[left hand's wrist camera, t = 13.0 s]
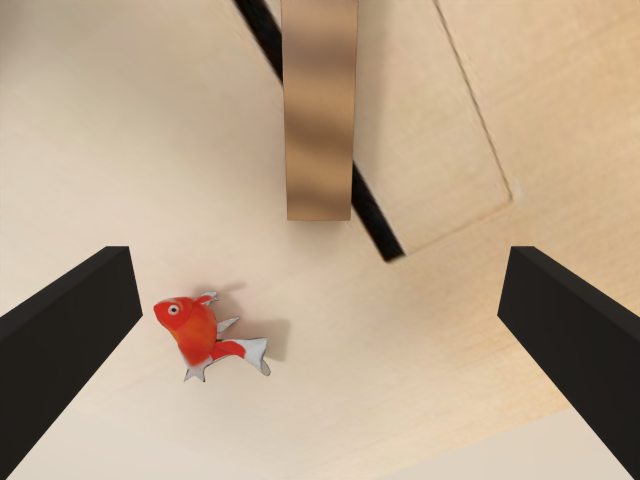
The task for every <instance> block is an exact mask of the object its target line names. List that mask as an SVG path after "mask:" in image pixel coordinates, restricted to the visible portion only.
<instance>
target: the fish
mask: <svg viewBox="0 0 640 480" xmlns="http://www.w3.org/2000/svg"><path fill="white" fill-rule="evenodd" d="M216 295H217V293H216V292H206V293H203V294H202V295H201V296H200V297H199V298H197V299H196V298H192V297H177V298H170V299H165V300H162V301H160V302H159V303H157V304H156V305H155V306H154V308H153V309H154V312H155V314H156V317H157V319H158V321H159V322H160V323H161V324H162V325H163V326H164V327H165V328H166V329H168V330H169V331H170V333H171V334H172V335H173V337H174V338H175V340H176V341H177V343H178V347H179V350H180V352H181V355H182V357H183V359H184V361H185V363H186V365H187V367H188V371H187V373H186V376H185V379H184V382H185V381H186V380H188V379H189V378H191V377H192V376H193V375H195V376H197V377H198V378H199V379H200V380H202V381H203V382H205V377H204V369H205V368H206V367H207V366H209V365H211V364H213V363H215V362H216V361H218V360H220V359H222V358H225V357H227V356H230V355H238V356H240V357H241V358H243V359H245V360H246V361H248V362H250V363H251V364H252V365H254V366H255V367H256V368H257V369H258V370H259V371H260V372H262V373H263V374H264V375H266V376H269V375H270V373H271V372H270V369H269V367H268V365H267V364H266V362H265V361H264V360H263V356H264V353H265V350H266V344H267V338H255V339H248V340H217V333H221V332H223V331H224V330H226V329H227V328H228V327H229V326H230V325H232V324H233V323H234V322H235V321H237V320H238V319H239V317H237V318H233V319H228V320H225V321H223V322H220V323H217V322H216V318H215V316H214V314H213V311H212V310H211V308H210V307H209V306H208V305H210V303H211V301H213V300H219V299H217V298H215V296H216ZM184 382H183V383H184Z"/></svg>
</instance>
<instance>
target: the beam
mask: <svg viewBox="0 0 640 480" xmlns="http://www.w3.org/2000/svg"><path fill="white" fill-rule="evenodd" d="M281 17H282V52H283V86H284V120H285V155H286V189H287V220H329V221H350V215H351V188H352V160H353V133H354V106H355V78H356V51H357V24H358V0H281Z"/></svg>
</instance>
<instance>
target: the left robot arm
mask: <svg viewBox="0 0 640 480" xmlns="http://www.w3.org/2000/svg"><path fill="white" fill-rule="evenodd" d="M142 316H143V314H142V309H141V304H140V299H139V294H138V289H137V284H136V280H135V275H134V270H133V265H132V260H131V255H130V250H129V246H106V247H105V248H103V249H102V250H100V251H99V252H97V253H96V254H94V255H93V256H91V257H90V258H88V259H87V260H85V261H84V262H82V263H81V264H79V265H78V266H76V267H75V268H73V269H72V270H70V271H69V272H67V273H66V274H64V275H63V276H61V277H60V278H58V279H57V280H55V281H54V282H52V283H51V284H49V285H48V286H46V287H45V288H43V289H42V290H40V291H39V292H37V293H36V294H34V295H33V296H31V297H30V298H28V299H27V300H25V301H24V302H22V303H21V304H19V305H18V306H17V307H15V308H14V309H12V310H11V311H9V312H8V313H6V314H5V315H3V316H2V317H0V480H6V479H7V477H8V476H9V475H10V474H11V473H12V472H13V470H14V469H15V468H16V467H17V466H18V464H19V463H20V462H21V461H22V460H23V458H24V457H25V456H26V455H27V453H28V452H29V451H30V450H31V449H32V448H33V446H34V445H35V444H36V443H37V442H38V440H39V439H40V438H41V437H42V436H43V434H44V433H45V432H46V431H47V430H48V428H49V427H50V426H51V425H52V424H53V422H54V421H55V420H56V419H57V418H58V416H59V415H60V414H61V413H62V412H63V410H64V409H65V408H66V407H67V406H68V404H69V403H70V402H71V401H72V400H73V398H74V397H75V396H76V395H77V394H78V392H79V391H80V390H81V389H82V388H83V387H84V385H85V384H86V383H87V382H88V381H89V379H90V378H91V377H92V376H93V375H94V373H95V372H96V371H97V370H98V369H99V367H100V366H101V365H102V364H103V363H104V361H105V360H106V359H107V358H108V357H109V355H110V354H111V353H112V352H113V351H114V349H115V348H116V347H117V346H118V345H119V343H120V342H121V341H122V340H123V339H124V337H125V336H126V335H127V334H128V333H129V331H130V330H131V329H132V328H133V327H134V325H135V324H136V323H137V322H138V321H139V319H140V318H141V317H142ZM497 316H498V317H499V318H500V319H501V321H502V322H503V323H504V324H505V325H506V327H507V328H508V329H509V330H510V331H511V333H512V334H513V335H514V336H515V337H516V339H517V340H518V341H519V342H520V343H521V345H522V346H523V347H524V348H525V349H526V351H527V352H528V353H529V354H530V355H531V357H532V358H533V359H534V360H535V361H536V363H537V364H538V365H539V366H540V367H541V369H542V370H543V371H544V372H545V373H546V375H547V376H548V377H549V378H550V379H551V381H552V382H553V383H554V384H555V385H556V387H557V388H558V389H559V390H560V391H561V392H562V394H563V395H564V396H565V397H566V398H567V400H568V401H569V402H570V403H571V404H572V406H573V407H574V408H575V409H576V410H577V412H578V413H579V414H580V415H581V416H582V418H583V419H584V420H585V421H586V422H587V424H588V425H589V426H590V427H591V428H592V430H593V431H594V432H595V433H596V434H597V436H598V437H599V438H600V439H601V440H602V442H603V443H604V444H605V445H606V446H607V448H608V449H609V450H610V451H611V452H612V454H613V455H614V456H615V457H616V458H617V460H618V461H619V462H620V463H621V464H622V466H623V467H624V468H625V469H626V470H627V472H628V473H629V474H630V475H631V476H632V478H633V479H634V480H640V317H638V316H637V315H635V314H634V313H632V312H631V311H629V310H628V309H626V308H625V307H623V306H622V305H620V304H619V303H618V302H616V301H615V300H613V299H612V298H610V297H609V296H607V295H606V294H604V293H603V292H601V291H600V290H598V289H597V288H595V287H594V286H592V285H591V284H589V283H588V282H586V281H585V280H583V279H582V278H580V277H579V276H577V275H576V274H574V273H573V272H571V271H570V270H568V269H567V268H565V267H564V266H562V265H561V264H559V263H558V262H556V261H555V260H553V259H552V258H550V257H549V256H547V255H546V254H544V253H543V252H541V251H540V250H538V249H537V248H535V247H534V246H511V250H510V255H509V260H508V265H507V270H506V275H505V280H504V284H503V289H502V294H501V299H500V304H499V309H498V314H497Z"/></svg>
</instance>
